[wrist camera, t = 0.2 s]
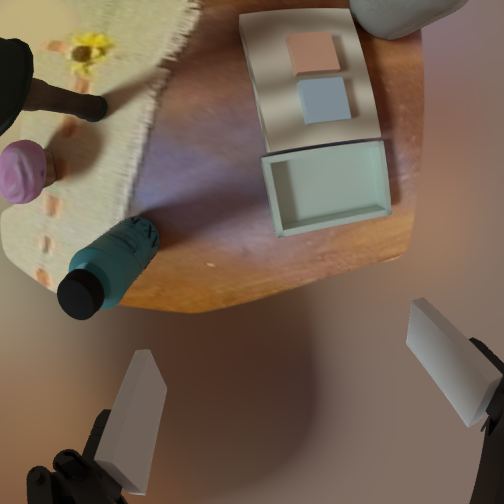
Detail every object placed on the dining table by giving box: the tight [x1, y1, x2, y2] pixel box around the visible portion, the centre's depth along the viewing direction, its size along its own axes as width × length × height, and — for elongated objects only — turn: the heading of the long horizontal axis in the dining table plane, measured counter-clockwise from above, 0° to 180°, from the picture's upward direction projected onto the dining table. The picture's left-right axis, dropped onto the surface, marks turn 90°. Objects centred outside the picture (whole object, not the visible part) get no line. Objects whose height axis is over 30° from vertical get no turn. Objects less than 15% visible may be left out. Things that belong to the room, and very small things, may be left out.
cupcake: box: [0, 140, 56, 204], centre depth 30 cm, size 9×9×10 cm
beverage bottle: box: [57, 216, 160, 320], centre depth 30 cm, size 6×7×20 cm
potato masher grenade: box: [0, 38, 108, 136], centre depth 19 cm, size 8×9×30 cm
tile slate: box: [296, 77, 351, 125], centre depth 30 cm, size 5×5×2 cm
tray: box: [260, 140, 392, 238], centre depth 37 cm, size 10×16×4 cm, turn 102°
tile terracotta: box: [285, 32, 340, 77], centre depth 28 cm, size 5×5×2 cm
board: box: [239, 8, 381, 152], centre depth 32 cm, size 18×14×5 cm
